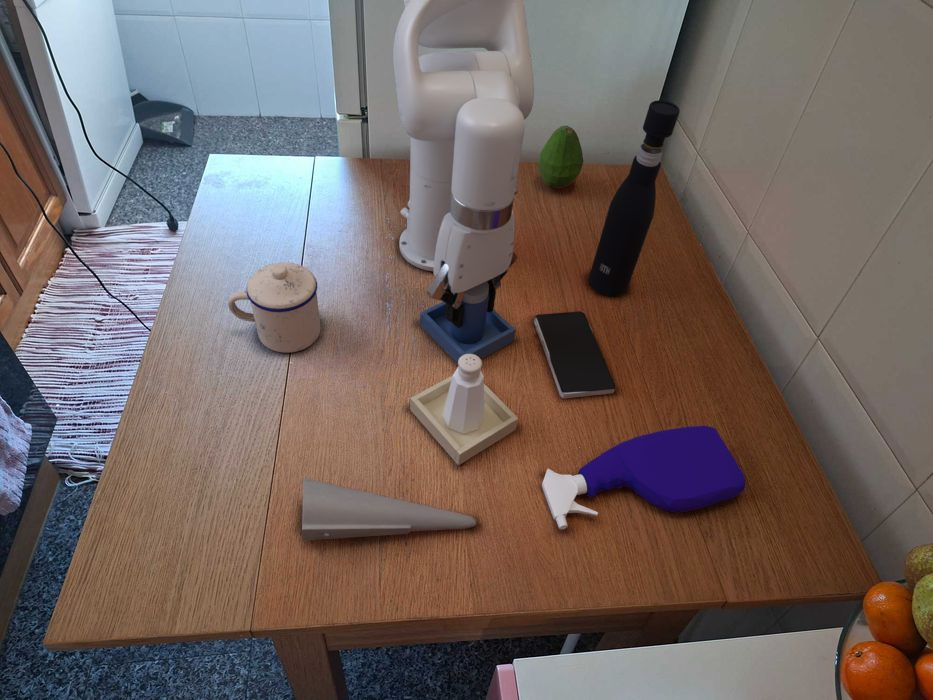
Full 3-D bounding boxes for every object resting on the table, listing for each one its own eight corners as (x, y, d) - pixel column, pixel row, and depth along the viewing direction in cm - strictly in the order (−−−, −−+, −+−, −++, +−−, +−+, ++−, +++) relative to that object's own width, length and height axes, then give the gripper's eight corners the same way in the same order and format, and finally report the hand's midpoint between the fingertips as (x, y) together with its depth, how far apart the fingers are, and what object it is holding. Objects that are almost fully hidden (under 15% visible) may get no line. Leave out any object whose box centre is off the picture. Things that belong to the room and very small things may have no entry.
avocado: (533, 193, 120) (543, 134, 111) (536, 171, 125) (547, 112, 116) (575, 200, 119) (590, 141, 110) (577, 177, 125) (591, 119, 116)
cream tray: (409, 409, 84) (410, 397, 82) (466, 378, 88) (467, 366, 87) (458, 465, 79) (459, 454, 77) (515, 429, 83) (518, 418, 81)
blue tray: (419, 324, 95) (419, 312, 93) (469, 300, 99) (471, 288, 97) (462, 369, 90) (464, 357, 88) (513, 341, 94) (516, 329, 92)
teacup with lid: (324, 309, 95) (317, 246, 87) (320, 355, 89) (311, 293, 80) (241, 308, 94) (225, 245, 85) (230, 355, 88) (212, 292, 79)
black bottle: (626, 272, 106) (686, 98, 84) (629, 299, 102) (693, 122, 80) (587, 268, 106) (637, 92, 84) (588, 294, 102) (642, 116, 80)
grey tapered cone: (475, 465, 74) (303, 468, 70) (482, 519, 71) (301, 526, 66) (465, 486, 79) (303, 490, 75) (471, 537, 75) (302, 545, 71)
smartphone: (561, 394, 87) (533, 314, 96) (559, 399, 87) (531, 320, 97) (617, 388, 88) (584, 310, 98) (615, 393, 89) (582, 316, 99)
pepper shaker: (444, 328, 94) (447, 281, 87) (470, 315, 96) (475, 269, 89) (464, 348, 91) (469, 302, 85) (490, 335, 94) (497, 288, 87)
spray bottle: (710, 416, 84) (532, 452, 78) (757, 489, 77) (565, 534, 71) (703, 429, 86) (529, 465, 80) (747, 501, 79) (560, 546, 73)
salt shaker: (484, 436, 82) (493, 380, 74) (441, 433, 81) (446, 377, 73) (484, 401, 85) (493, 345, 77) (443, 399, 85) (447, 342, 77)
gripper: (513, 170, 84) (497, 277, 97) (405, 211, 76) (404, 321, 89) (553, 199, 80) (531, 306, 93) (443, 245, 72) (436, 355, 85)
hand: (469, 312), depth 91 cm, fingers closed on pepper shaker, 4 cm apart
